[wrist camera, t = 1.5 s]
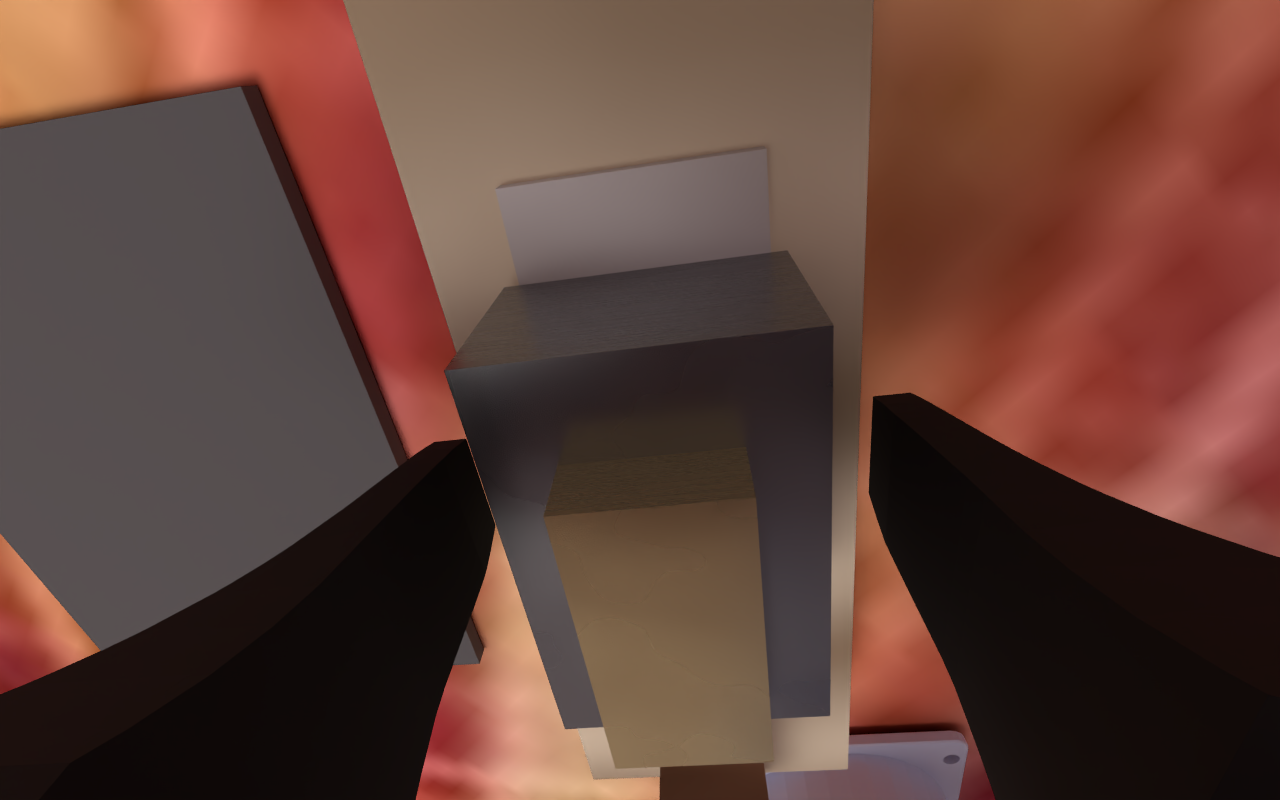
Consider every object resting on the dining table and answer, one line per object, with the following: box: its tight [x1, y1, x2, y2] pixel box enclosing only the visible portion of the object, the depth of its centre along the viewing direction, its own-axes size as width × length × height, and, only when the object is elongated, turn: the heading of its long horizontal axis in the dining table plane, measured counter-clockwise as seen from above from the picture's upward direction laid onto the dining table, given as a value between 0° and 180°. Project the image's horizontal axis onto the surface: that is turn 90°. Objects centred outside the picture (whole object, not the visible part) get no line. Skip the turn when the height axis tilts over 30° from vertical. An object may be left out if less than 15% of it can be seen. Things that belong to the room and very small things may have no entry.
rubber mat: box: [0, 85, 484, 665], centre depth 16 cm, size 16×12×1 cm
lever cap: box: [444, 250, 834, 769], centre depth 9 cm, size 7×4×4 cm, turn 8°
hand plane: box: [343, 0, 874, 800], centre depth 11 cm, size 22×7×6 cm, turn 8°
